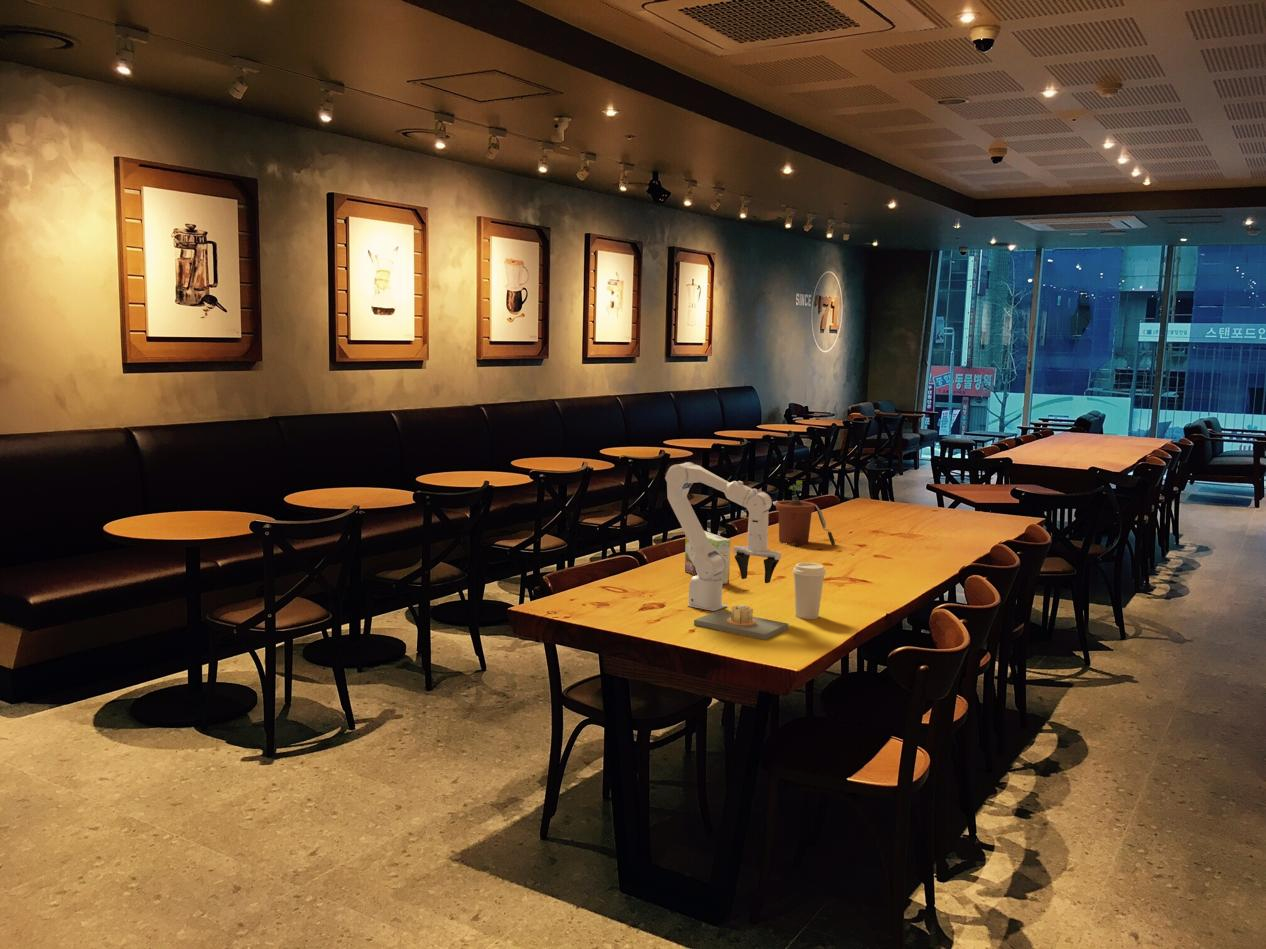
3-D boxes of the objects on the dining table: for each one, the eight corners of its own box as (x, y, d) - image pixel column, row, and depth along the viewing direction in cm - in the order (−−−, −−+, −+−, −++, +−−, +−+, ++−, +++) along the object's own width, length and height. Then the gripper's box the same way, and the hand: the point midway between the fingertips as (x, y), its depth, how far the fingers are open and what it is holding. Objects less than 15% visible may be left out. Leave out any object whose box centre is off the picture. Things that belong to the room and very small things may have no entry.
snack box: (683, 572, 347) (684, 528, 345) (697, 570, 350) (698, 528, 348) (715, 585, 328) (717, 540, 326) (730, 584, 331) (732, 539, 329)
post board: (693, 625, 280) (694, 603, 279) (719, 615, 291) (720, 594, 291) (764, 639, 267) (765, 617, 267) (788, 628, 279) (789, 607, 278)
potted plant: (790, 536, 419) (793, 477, 416) (835, 544, 405) (839, 483, 402) (765, 541, 406) (768, 480, 403) (811, 550, 392) (814, 486, 389)
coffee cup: (819, 612, 298) (822, 562, 296) (826, 620, 288) (829, 569, 286) (787, 611, 297) (789, 561, 296) (793, 620, 288) (796, 568, 286)
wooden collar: (727, 621, 278) (728, 608, 278) (737, 617, 283) (738, 604, 283) (745, 624, 275) (746, 611, 275) (755, 620, 280) (755, 607, 279)
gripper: (728, 533, 292) (727, 579, 293) (773, 539, 284) (771, 586, 285) (740, 529, 297) (738, 575, 299) (785, 536, 289) (783, 582, 291)
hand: (755, 580), depth 293 cm, fingers open, 7 cm apart
